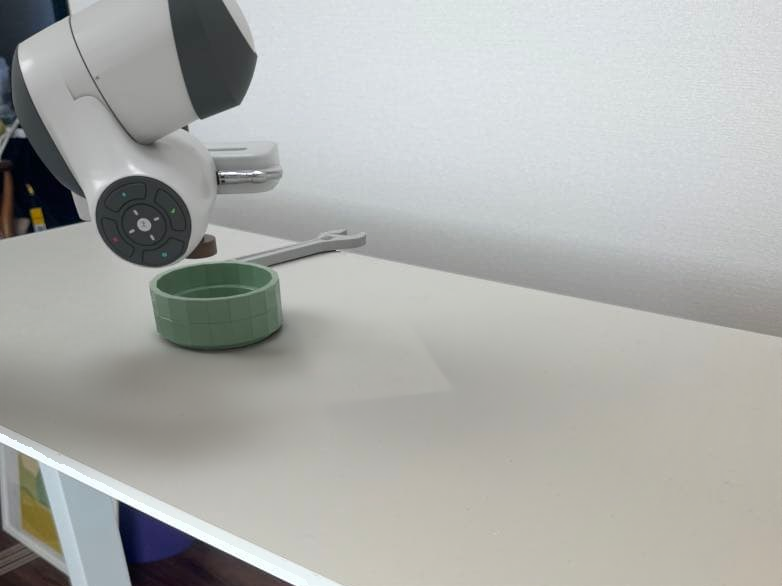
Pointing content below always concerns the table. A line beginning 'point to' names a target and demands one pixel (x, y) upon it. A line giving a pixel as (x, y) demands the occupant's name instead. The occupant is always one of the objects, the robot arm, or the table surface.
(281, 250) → the adjustable wrench
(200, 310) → the bowl
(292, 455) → the table surface
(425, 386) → the table surface
